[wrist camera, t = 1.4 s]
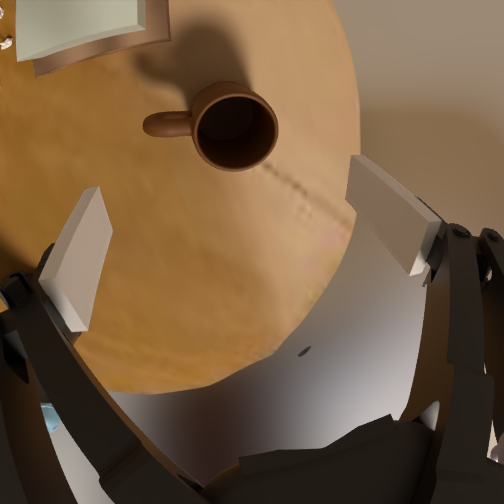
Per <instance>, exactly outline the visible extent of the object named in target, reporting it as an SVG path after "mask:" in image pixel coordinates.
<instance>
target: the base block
mask: <svg viewBox="0 0 504 504" xmlns="http://www.w3.org/2000/svg"><path fill="white" fill-rule="evenodd" d="M166 41H171V35H170V20H169V3H168V0H146V30H140V31H134V32H129V33H124V34H119V35H115V36H111V37H106V38H102V39H98V40H94V41H91V42H87V43H84V44H80V45H77V46H74V47H71V48H67V49H64V50H61V51H58V52H56V53H53V54H50V55H47V56H45V57H42V58H36V59H33V63H34V70H35V77H37V76H41V75H45V74H49V73H53V72H55V71H58V70H61V69H63V68H66V67H69V66H72V65H75V64H77V63H80V62H84V61H87V60H90V59H93V58H96V57H100V56H103V55H107V54H110V53H114V52H118V51H122V50H126V49H130V48H135V47H139V46H144V45H149V44H154V43H160V42H166Z"/></svg>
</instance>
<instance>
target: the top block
mask: <svg viewBox="0 0 504 504" xmlns="http://www.w3.org/2000/svg"><path fill="white" fill-rule="evenodd" d="M140 30H146V0H16V50H17V62H18V61H24V60H30V59H36V58H42V57H45V56H47V55H50V54H53V53H56V52H58V51H61V50H64V49H67V48H71V47H74V46H77V45H80V44H84V43H87V42H91V41H94V40H98V39H102V38H106V37H111V36H115V35H119V34H124V33H129V32H134V31H140Z"/></svg>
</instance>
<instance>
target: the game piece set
mask: <svg viewBox="0 0 504 504" xmlns="http://www.w3.org/2000/svg"><path fill="white" fill-rule="evenodd" d="M1 10H2V9H1V7H0V11H1ZM3 11H4V10H2V11H1V14H2V16H3V15H4V13H3ZM0 18H2V17H1V15H0ZM12 39H13V38H11V39H9V38H7V39H6V40H5V41H4V42H2V43H0V45H2V47H1V49H5V48H7V47H9V46H10V45H12Z"/></svg>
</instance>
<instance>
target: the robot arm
mask: <svg viewBox="0 0 504 504" xmlns="http://www.w3.org/2000/svg"><path fill="white" fill-rule="evenodd" d="M345 199H346V200H347V202H348V203H349V204H350V205H351V206H352V207H353V208H354V209H355V211H356V212H357V213H358V214H359V215H360V216H361V217H362V219H363V220H364V221H365V222H366V223H367V224H368V225H369V227H370V228H371V229H372V230H373V231H374V233H375V234H376V235H377V236H378V237H379V239H380V240H381V241H382V242H383V243H384V244H385V246H386V247H387V248H388V250H389V251H390V252H391V253H392V255H393V256H394V257H395V258H396V260H397V261H398V262H399V263H400V264H401V266H402V267H403V269H404V270H405V271H406V273H407V274H408V275H409V276H411V275H415V274H418V273H422V270H423V268H424V265H425V264H426V262H427V263H428V264H429V265H430V270H429V272H428V274H427V276H426V279H425V281H424V283H423V287H425V285H426V284H427V293H426V304H425V312H424V320H423V328H422V335H421V341H420V348H419V353H418V359H417V364H416V369H415V375H414V379H413V383H412V388H411V392H410V396H409V400H408V403H407V406H406V408H405V410H404V411H403V413H402V415H401V417H400V419H399V420H398V421H397V420H393V418H392V416H391V414H389V415H386V416H384V417H382V418H379V419H377V420H374V421H371V422H369V423H366V424H364V425H361V426H358V427H357V428H355V429H354V430H352V431H351V432H349V433H347V434H346V435H345V436H343V437H341V438H340V439H338V440H336V441H335V442H333V443H332V444H330V445H328V446H327V447H324V448H321V449H301V450H300V449H298V450H275V451H271V452H266V453H261V454H255V455H250V456H244V457H239V464H236V465H234V466H232V467H230V468H228V469H226V470H224V471H223V472H221V473H220V474H219V475H217V476H215V477H214V478H213V479H212V480H211V481H210V482H209V483H208V484H207V485H206V486H205V487H204V486H202V485H201V484H200V483H199V482H197V481H196V480H195V479H194V478H193V477H191V476H190V475H189V474H188V473H186V472H185V471H184V470H183V469H181V468H180V467H179V466H177V465H176V464H175V463H173V461H172V460H170V459H169V458H168V457H167V456H166V455H165V454H164V453H163V452H162V451H161V450H160V449H159V448H158V447H157V446H156V445H155V444H154V443H153V442H152V441H151V440H149V438H148V437H147V436H146V435H145V434H144V433H143V432H142V431H141V430H140V429H139V428H138V427H137V426H136V425H135V424H134V423H133V422H132V420H131V419H130V418H129V417H128V416H127V415H126V414H125V413H124V411H123V410H122V409H121V408H120V407H119V406H118V404H117V403H116V402H115V401H114V400H113V398H112V397H111V396H110V395H109V394H108V392H107V391H106V390H105V389H104V387H103V386H102V385H101V384H100V382H99V381H98V380H97V378H96V377H95V376H94V374H93V373H92V372H91V370H90V369H89V368H88V366H87V365H86V363H85V362H84V361H83V359H82V358H81V356H80V355H79V354H78V352H77V351H76V349H75V348H74V346H73V345H74V343H75V342H76V340H77V338H78V337H79V336H80V335H81V333H82V331H88V328H89V323H90V318H91V313H92V308H93V304H94V299H95V295H96V291H97V287H98V283H99V279H100V275H101V271H102V267H103V264H104V260H105V256H106V253H107V249H108V246H109V243H110V239H111V236H112V233H113V229H112V226H111V223H110V220H109V217H108V214H107V211H106V208H105V205H104V202H103V198H102V195H101V192H100V188H99V186H96V187H91V188H87V189H85V191H84V192H83V194H82V196H81V197H80V199H79V201H78V202H77V204H76V206H75V208H74V209H73V211H72V213H71V215H70V216H69V218H68V220H67V222H66V224H65V226H64V228H63V229H62V231H61V233H60V235H59V237H58V239H57V241H56V243H53V244H51V245H50V246H49V247H48V248H47V249H46V251H45V252H44V254H43V256H42V258H41V261H40V262H39V264H38V266H37V268H36V270H35V273H34V274H32V275H26V274H25V272H23V271H21V270H18V271H14V272H12V273H11V274H9V275H8V276H7V277H5V278H4V279H3V281H2V282H1V284H0V298H1V299H2V300H3V302H4V303H5V305H6V306H7V307H8V310H5V311H3V312H1V313H0V504H78V503H77V501H76V499H75V497H74V495H73V493H72V490H71V488H70V486H69V484H68V482H67V480H66V477H65V475H64V472H63V470H62V468H61V465H60V463H59V460H58V457H57V455H56V452H55V450H54V447H53V444H52V441H51V438H50V435H49V433H51V432H53V431H55V430H56V429H57V428H58V426H59V421H60V419H61V421H62V422H63V424H64V425H65V427H66V429H67V430H68V432H69V433H70V435H71V436H72V438H73V439H74V441H75V442H76V444H77V445H78V447H79V448H80V449H81V451H82V452H83V453H84V455H85V456H86V458H87V459H88V460H89V462H90V463H91V464H92V465H93V467H94V468H95V469H96V471H97V472H98V474H99V476H100V478H99V483H100V485H101V487H102V489H103V490H104V491H105V492H106V494H107V495H108V496H109V498H110V499H111V500H112V501H113V502H114V503H115V504H504V240H503V238H502V237H501V236H500V235H499V234H498V232H496V231H494V230H493V229H489V228H484V229H483V230H482V232H481V234H480V236H479V237H476V236H472V235H471V233H470V232H469V231H468V230H467V229H466V228H464V227H463V226H461V225H459V224H454V223H450V224H447V223H446V222H445V221H444V220H443V219H442V218H441V217H440V216H439V215H438V214H437V213H435V212H434V211H433V210H432V209H431V208H430V207H429V206H427V205H426V204H425V203H424V202H423V201H422V200H421V199H420V198H418V197H416V196H414V195H413V194H412V193H411V192H409V191H408V190H407V189H406V188H405V187H403V186H402V185H401V184H400V183H399V182H397V181H396V180H395V179H394V178H392V177H391V176H390V175H389V174H387V173H386V172H385V171H384V170H382V169H381V168H380V167H378V166H377V165H376V164H374V163H373V162H372V161H370V160H369V159H368V158H366V157H365V156H363V155H351V161H350V169H349V176H348V184H347V191H346V198H345ZM491 270H492V277H491V279H490V280H488V278H487V276H488V274H489V273H490V271H491ZM484 363H485V368H486V374H485V372H484ZM492 420H493V426H494V432H495V436H496V440H497V443H498V445H496V446H495V447H494V448H493V449H492V451H491V455H490V457H491V459H490V458H487V452H488V446H489V440H490V433H491V425H492Z"/></svg>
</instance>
